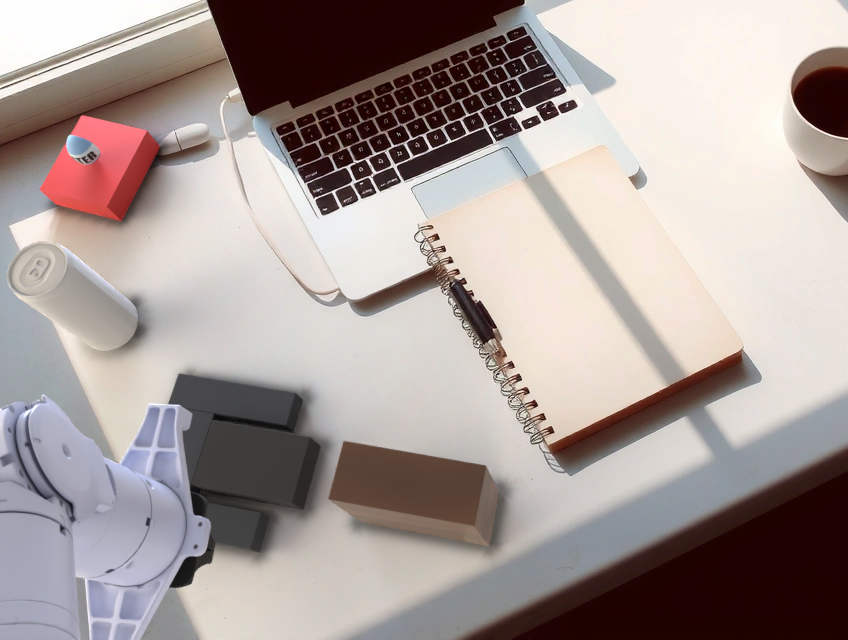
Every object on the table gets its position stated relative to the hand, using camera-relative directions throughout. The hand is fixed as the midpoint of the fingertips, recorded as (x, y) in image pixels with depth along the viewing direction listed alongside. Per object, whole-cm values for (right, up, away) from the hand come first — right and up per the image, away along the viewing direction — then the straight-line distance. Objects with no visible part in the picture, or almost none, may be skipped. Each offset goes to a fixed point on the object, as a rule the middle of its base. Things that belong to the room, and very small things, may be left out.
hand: (198, 551), depth 60 cm
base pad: (-3, +3, +13) cm, 14 cm away
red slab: (-17, +26, +25) cm, 40 cm away
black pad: (+1, +2, +13) cm, 13 cm away
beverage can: (-14, +13, +19) cm, 27 cm away
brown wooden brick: (+14, 0, +10) cm, 17 cm away
